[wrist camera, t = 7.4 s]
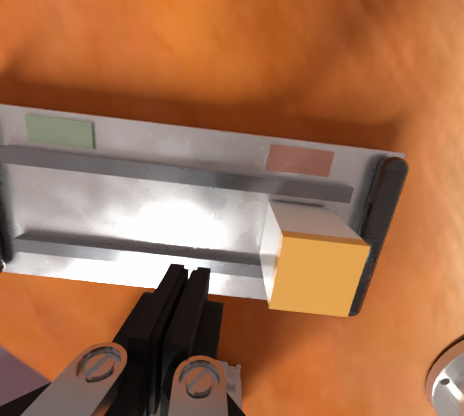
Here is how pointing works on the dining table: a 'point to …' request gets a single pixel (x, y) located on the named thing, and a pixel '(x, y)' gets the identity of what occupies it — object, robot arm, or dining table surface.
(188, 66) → the dining table surface
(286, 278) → the toggle
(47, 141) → the panel
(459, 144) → the dining table surface
